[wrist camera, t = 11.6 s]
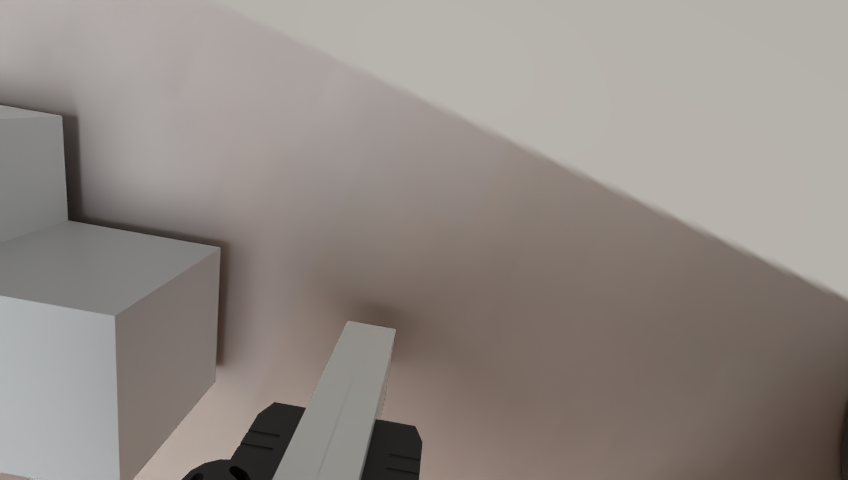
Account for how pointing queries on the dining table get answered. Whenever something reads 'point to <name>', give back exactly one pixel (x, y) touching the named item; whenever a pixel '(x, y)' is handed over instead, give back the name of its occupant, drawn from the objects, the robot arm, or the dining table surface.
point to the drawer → (91, 324)
